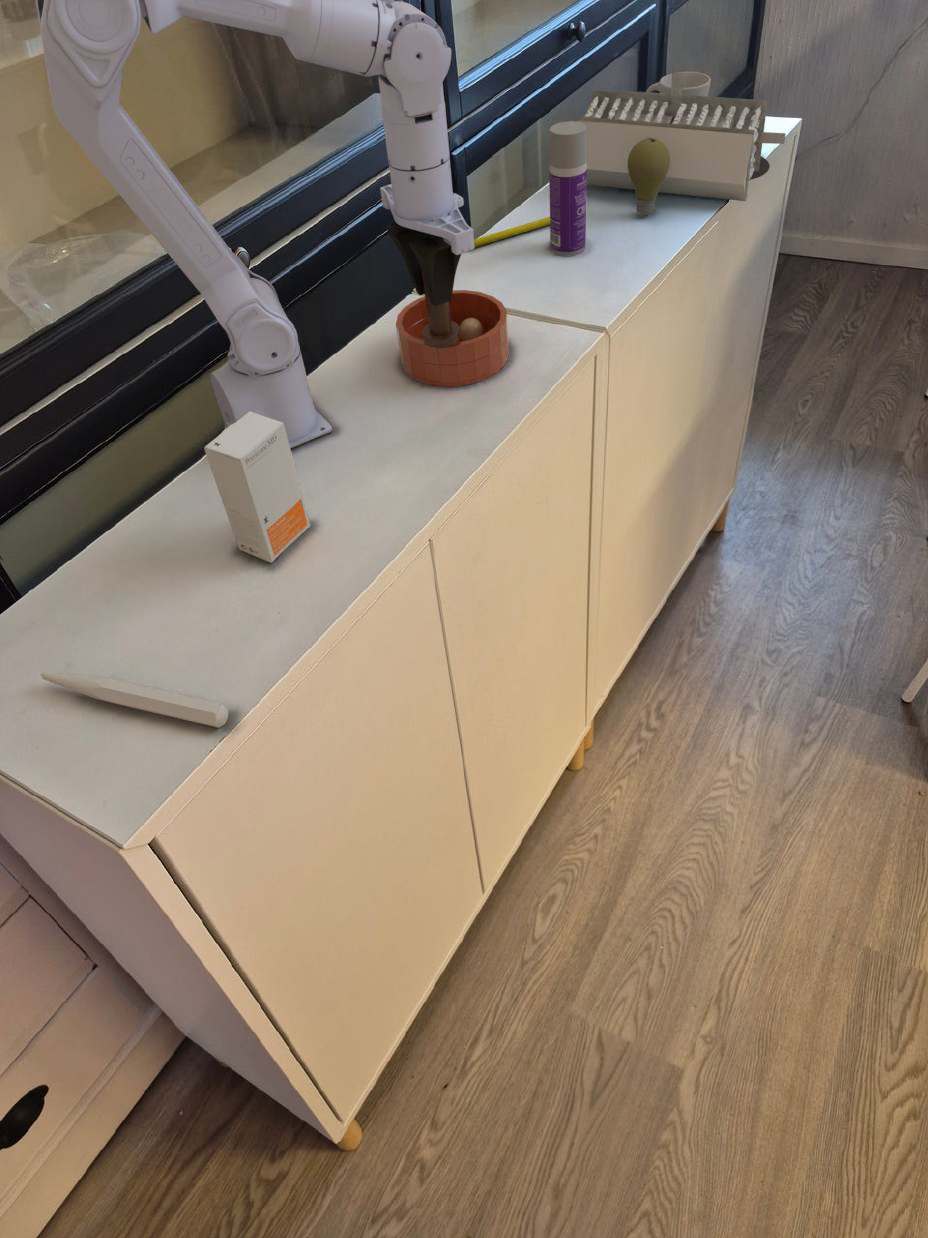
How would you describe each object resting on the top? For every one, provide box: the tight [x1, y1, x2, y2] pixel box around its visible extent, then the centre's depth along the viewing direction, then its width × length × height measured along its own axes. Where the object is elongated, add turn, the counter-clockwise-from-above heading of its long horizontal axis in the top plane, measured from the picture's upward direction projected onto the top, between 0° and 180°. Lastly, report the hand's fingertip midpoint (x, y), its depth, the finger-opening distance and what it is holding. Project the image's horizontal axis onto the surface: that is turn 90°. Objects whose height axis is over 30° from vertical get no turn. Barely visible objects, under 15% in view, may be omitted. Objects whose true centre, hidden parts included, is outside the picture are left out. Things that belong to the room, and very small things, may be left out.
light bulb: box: [628, 138, 670, 218], centre depth 122 cm, size 6×6×10 cm
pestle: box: [422, 272, 460, 348], centre depth 94 cm, size 4×4×8 cm
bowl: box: [395, 289, 510, 388], centre depth 103 cm, size 12×12×5 cm
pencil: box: [474, 216, 550, 249], centre depth 124 cm, size 16×1×1 cm
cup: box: [645, 71, 712, 97], centre depth 139 cm, size 8×10×8 cm
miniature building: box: [575, 72, 787, 202], centre depth 124 cm, size 13×27×10 cm
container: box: [548, 120, 587, 257], centre depth 115 cm, size 5×5×15 cm
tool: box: [40, 671, 229, 729], centre depth 72 cm, size 17×2×2 cm
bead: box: [459, 318, 483, 341], centre depth 104 cm, size 3×3×3 cm
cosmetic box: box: [203, 412, 311, 564], centre depth 81 cm, size 6×4×12 cm
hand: (434, 296), depth 93 cm, fingers closed on pestle, 2 cm apart
